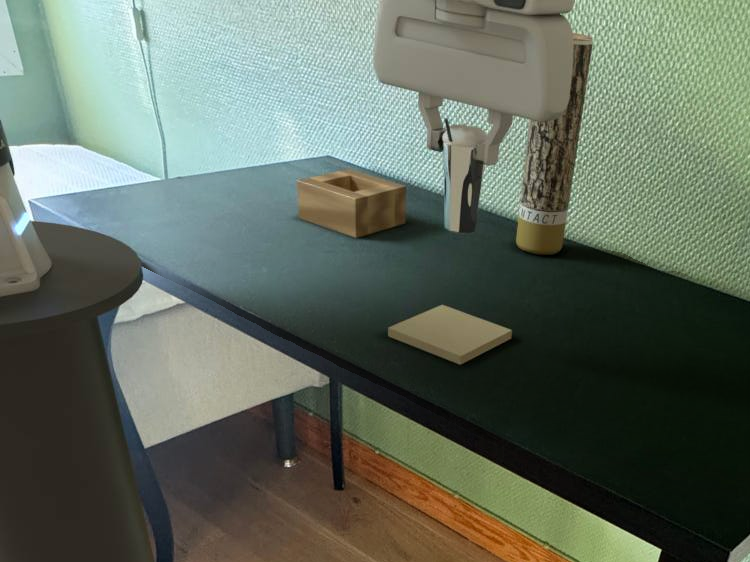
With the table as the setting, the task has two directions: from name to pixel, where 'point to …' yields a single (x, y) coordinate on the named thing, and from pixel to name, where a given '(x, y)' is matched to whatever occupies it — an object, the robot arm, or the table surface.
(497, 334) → the mat
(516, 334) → the table surface
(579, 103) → the paper tube
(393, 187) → the holder
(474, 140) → the milkshake
